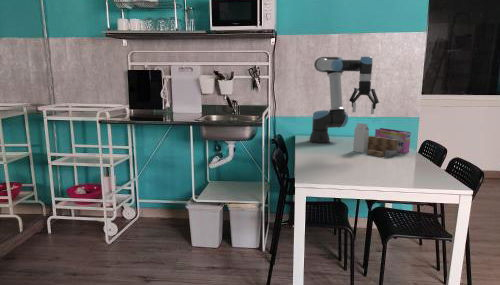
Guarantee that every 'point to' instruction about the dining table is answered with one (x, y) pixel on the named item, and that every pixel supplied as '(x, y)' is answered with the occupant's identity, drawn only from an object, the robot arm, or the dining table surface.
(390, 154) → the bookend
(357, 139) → the milk carton
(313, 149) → the dining table surface
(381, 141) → the walnut shelf
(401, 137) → the gum box
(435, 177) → the dining table surface
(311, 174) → the dining table surface
